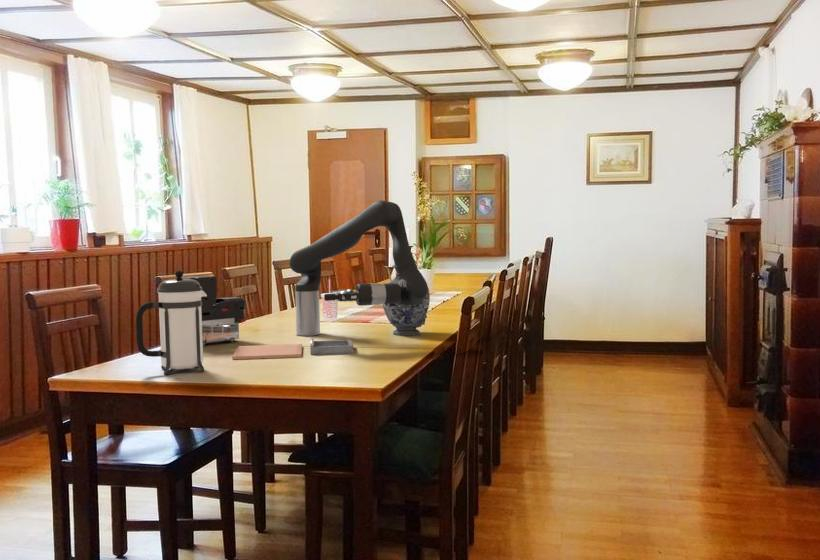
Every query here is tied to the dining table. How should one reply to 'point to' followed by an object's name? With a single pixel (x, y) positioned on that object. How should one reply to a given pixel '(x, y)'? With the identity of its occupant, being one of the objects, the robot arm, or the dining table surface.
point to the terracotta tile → (268, 351)
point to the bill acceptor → (219, 312)
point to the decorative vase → (406, 312)
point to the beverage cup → (329, 308)
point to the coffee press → (176, 324)
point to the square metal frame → (330, 347)
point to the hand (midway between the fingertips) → (322, 296)
